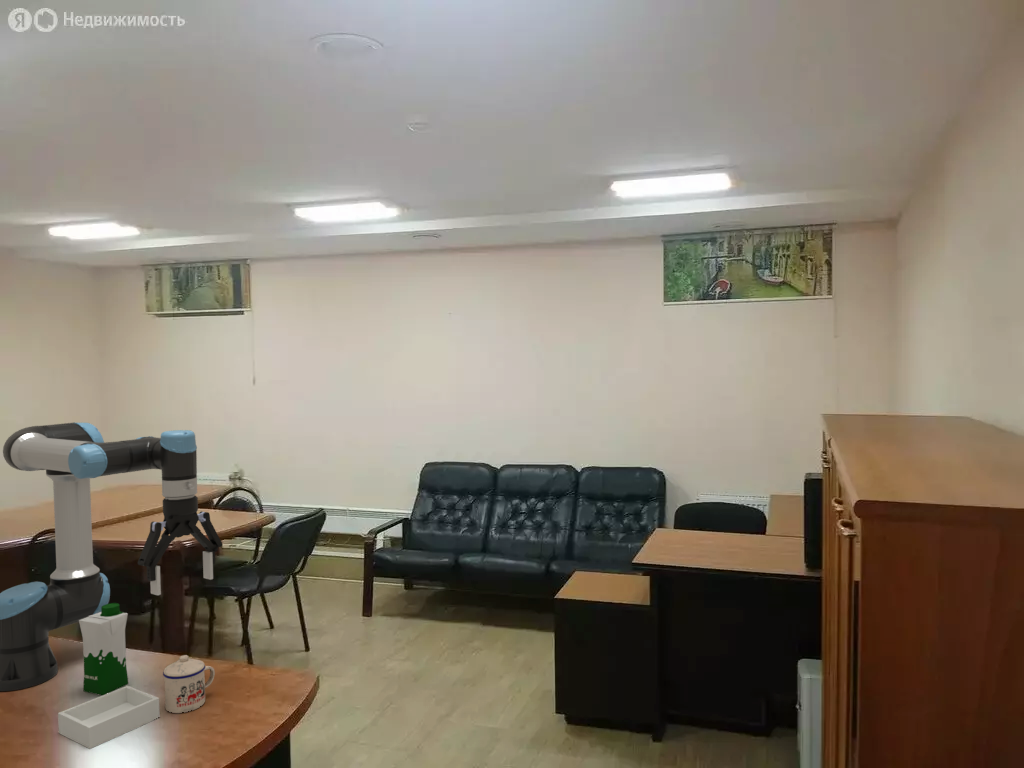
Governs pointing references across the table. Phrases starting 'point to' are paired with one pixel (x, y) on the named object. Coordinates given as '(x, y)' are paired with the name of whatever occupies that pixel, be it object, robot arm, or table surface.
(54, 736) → the table surface
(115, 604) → the milk carton
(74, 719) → the white rectangular tray
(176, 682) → the teacup with lid
